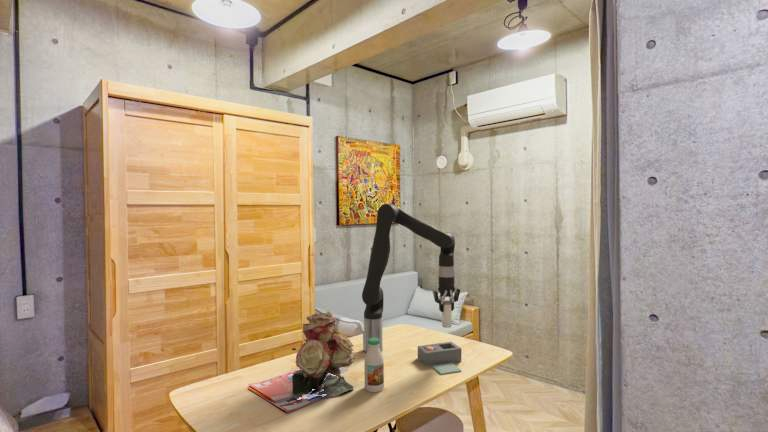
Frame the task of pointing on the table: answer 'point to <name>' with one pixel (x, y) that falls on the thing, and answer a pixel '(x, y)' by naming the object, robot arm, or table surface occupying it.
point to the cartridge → (446, 314)
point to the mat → (446, 368)
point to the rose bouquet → (322, 358)
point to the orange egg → (429, 348)
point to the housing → (439, 354)
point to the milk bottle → (374, 367)
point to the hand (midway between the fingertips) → (446, 310)
